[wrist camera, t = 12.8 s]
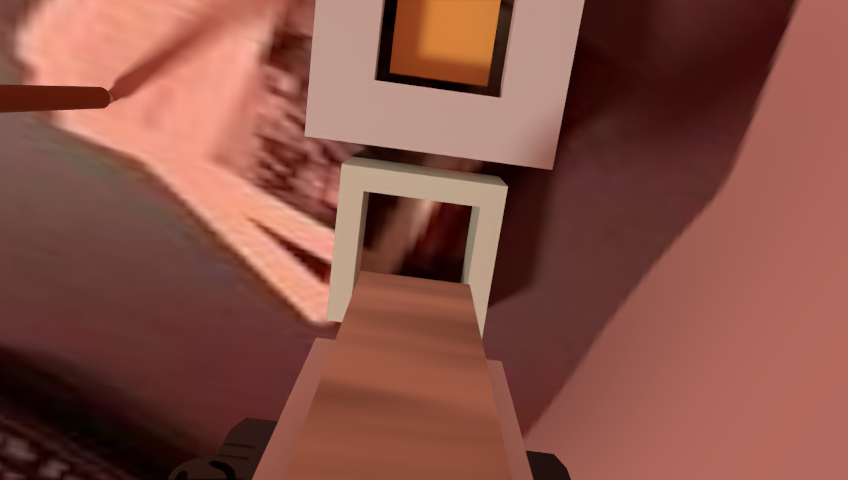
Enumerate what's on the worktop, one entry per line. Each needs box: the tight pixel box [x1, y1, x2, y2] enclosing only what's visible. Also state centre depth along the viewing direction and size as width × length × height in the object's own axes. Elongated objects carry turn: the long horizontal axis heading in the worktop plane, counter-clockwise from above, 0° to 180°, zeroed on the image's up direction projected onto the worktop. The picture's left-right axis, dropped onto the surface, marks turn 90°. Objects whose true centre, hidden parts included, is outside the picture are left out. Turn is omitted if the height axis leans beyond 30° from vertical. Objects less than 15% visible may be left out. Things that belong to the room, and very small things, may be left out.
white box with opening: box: [305, 0, 585, 170], centre depth 30 cm, size 12×12×7 cm
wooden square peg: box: [283, 271, 512, 480], centre depth 13 cm, size 4×4×17 cm
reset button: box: [390, 0, 501, 87], centre depth 30 cm, size 5×5×3 cm
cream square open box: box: [326, 156, 508, 339], centre depth 34 cm, size 9×9×4 cm
